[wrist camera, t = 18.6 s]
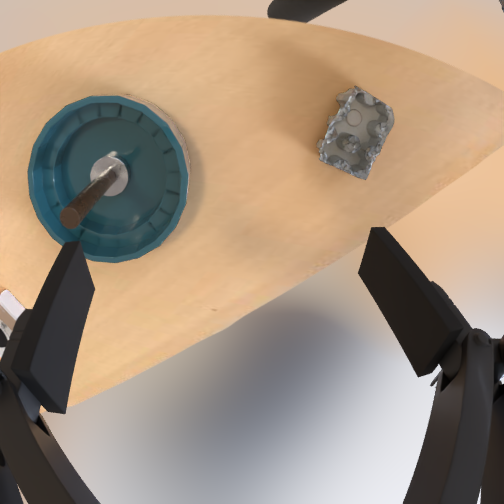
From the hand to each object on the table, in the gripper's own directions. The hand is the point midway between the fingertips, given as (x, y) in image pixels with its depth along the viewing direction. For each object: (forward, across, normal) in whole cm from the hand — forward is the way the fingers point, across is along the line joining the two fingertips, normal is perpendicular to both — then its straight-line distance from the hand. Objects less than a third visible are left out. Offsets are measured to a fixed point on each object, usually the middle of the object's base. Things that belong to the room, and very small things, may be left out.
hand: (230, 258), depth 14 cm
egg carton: (+26, +18, 0) cm, 32 cm away
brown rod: (+25, -12, -5) cm, 29 cm away
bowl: (+26, -12, -5) cm, 29 cm away
